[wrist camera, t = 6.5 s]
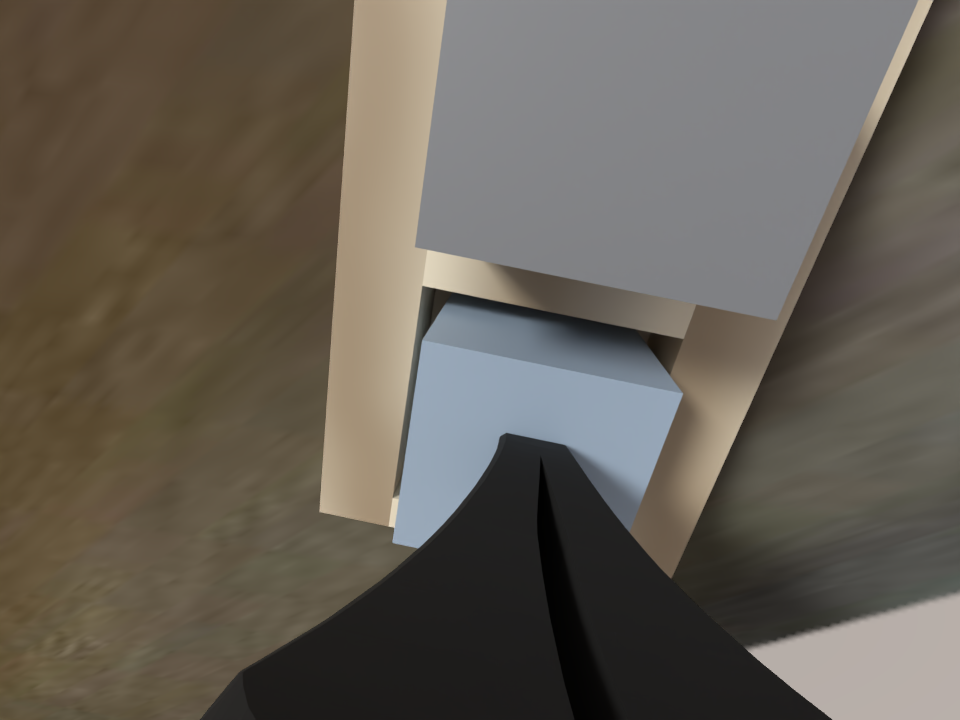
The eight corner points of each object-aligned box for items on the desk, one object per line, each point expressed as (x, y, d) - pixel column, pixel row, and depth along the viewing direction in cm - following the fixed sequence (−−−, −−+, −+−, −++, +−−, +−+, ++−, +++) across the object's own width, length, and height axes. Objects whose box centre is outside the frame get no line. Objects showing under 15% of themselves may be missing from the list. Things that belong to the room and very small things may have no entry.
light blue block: (635, 329, 12) (683, 393, 9) (586, 482, 14) (607, 588, 11) (452, 292, 13) (422, 340, 9) (426, 448, 14) (392, 542, 11)
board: (1101, -598, 7) (1364, -952, 5) (647, 526, 15) (668, 585, 13) (459, -708, 7) (430, -1098, 5) (349, 463, 15) (319, 511, 13)
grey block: (781, -14, 8) (994, -174, 4) (683, 267, 10) (777, 320, 6) (500, -67, 8) (481, -268, 5) (455, 222, 10) (414, 247, 6)
